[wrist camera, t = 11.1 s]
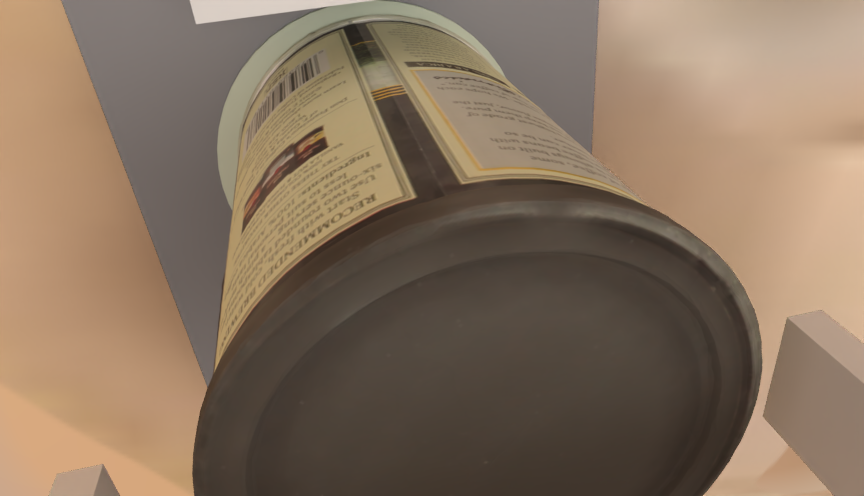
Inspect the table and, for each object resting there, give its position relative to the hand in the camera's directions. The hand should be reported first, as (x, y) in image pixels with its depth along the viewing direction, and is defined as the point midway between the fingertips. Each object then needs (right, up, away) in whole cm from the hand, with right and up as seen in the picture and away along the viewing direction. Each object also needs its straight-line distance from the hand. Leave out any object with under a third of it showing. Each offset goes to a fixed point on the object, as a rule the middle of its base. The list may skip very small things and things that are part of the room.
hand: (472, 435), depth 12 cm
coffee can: (-3, +7, +11) cm, 13 cm away
